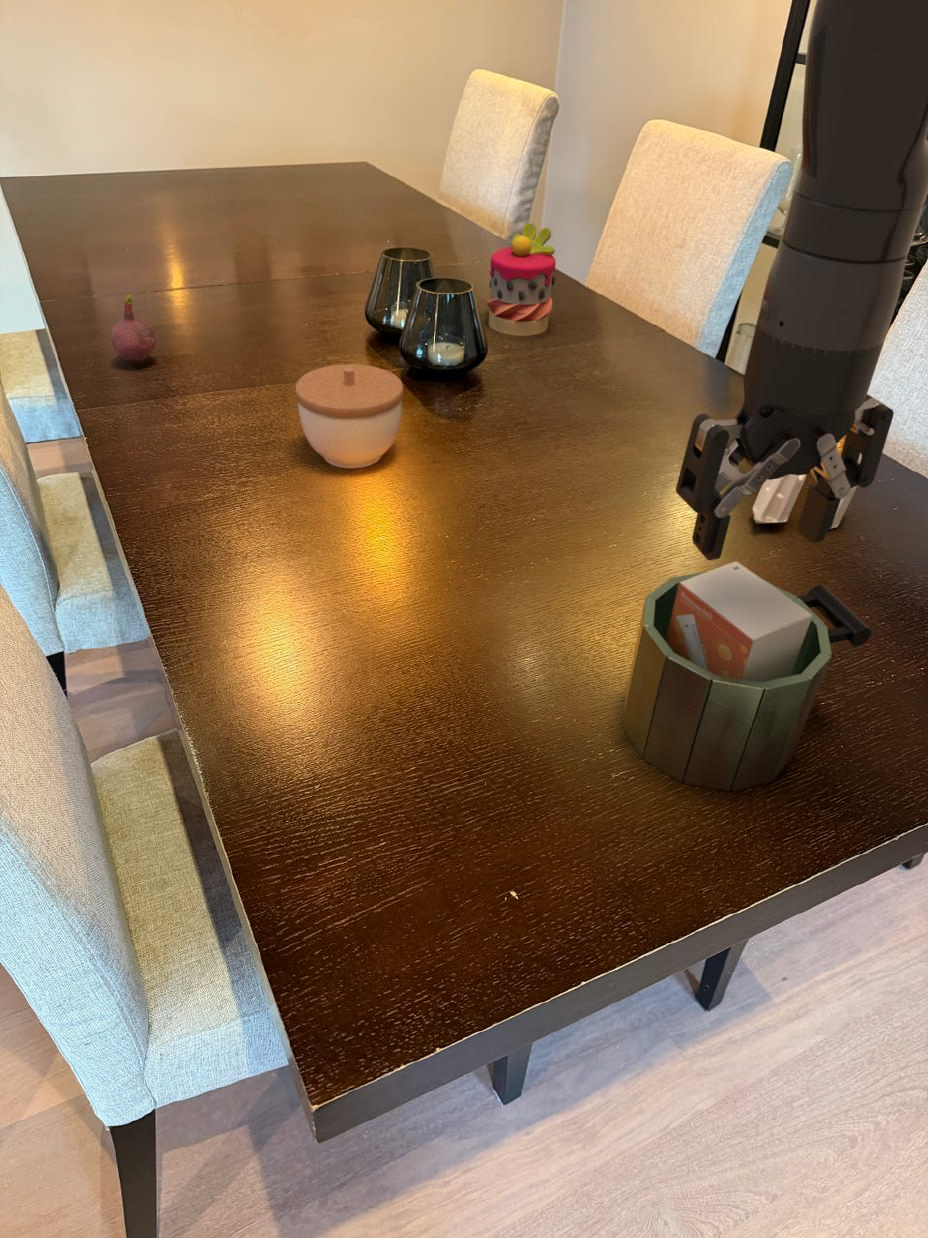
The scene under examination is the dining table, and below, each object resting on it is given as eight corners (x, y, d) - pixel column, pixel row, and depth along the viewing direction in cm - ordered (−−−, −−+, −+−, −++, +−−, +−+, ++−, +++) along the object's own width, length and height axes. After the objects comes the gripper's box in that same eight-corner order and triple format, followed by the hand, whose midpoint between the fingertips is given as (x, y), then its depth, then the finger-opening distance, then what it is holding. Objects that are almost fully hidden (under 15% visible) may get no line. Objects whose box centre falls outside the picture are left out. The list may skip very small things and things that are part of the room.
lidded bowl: (414, 473, 107) (414, 387, 101) (309, 485, 104) (302, 396, 98) (391, 426, 117) (390, 344, 110) (294, 436, 114) (286, 352, 107)
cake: (544, 340, 143) (554, 241, 133) (480, 331, 144) (485, 234, 135) (554, 317, 151) (564, 223, 141) (493, 310, 152) (499, 216, 143)
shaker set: (752, 536, 99) (777, 446, 93) (737, 516, 103) (760, 428, 96) (851, 530, 101) (883, 441, 94) (833, 510, 104) (863, 423, 98)
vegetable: (144, 375, 126) (130, 305, 120) (107, 368, 128) (91, 298, 121) (168, 359, 131) (156, 290, 125) (132, 353, 132) (118, 284, 126)
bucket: (596, 687, 79) (768, 652, 84) (672, 806, 69) (863, 759, 73) (614, 587, 72) (800, 555, 77) (701, 703, 62) (910, 658, 67)
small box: (648, 703, 77) (676, 580, 68) (703, 679, 79) (737, 558, 71) (714, 765, 71) (754, 639, 63) (771, 737, 74) (816, 613, 66)
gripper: (754, 356, 50) (698, 591, 60) (960, 334, 53) (875, 558, 63) (687, 310, 55) (646, 532, 65) (878, 293, 59) (812, 505, 69)
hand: (759, 545), depth 64 cm, fingers open, 8 cm apart
